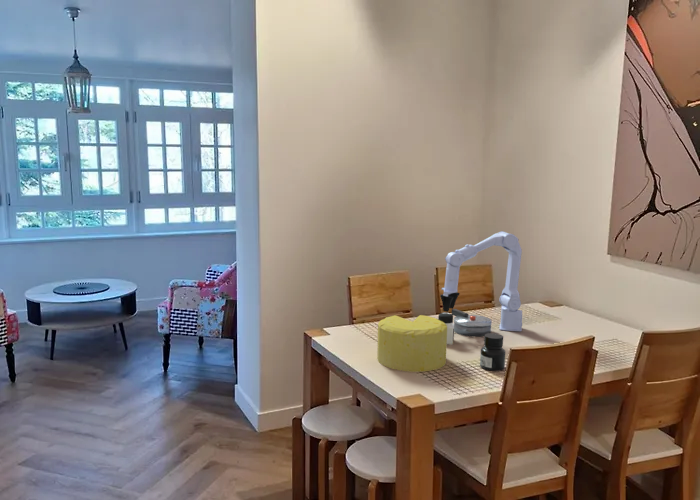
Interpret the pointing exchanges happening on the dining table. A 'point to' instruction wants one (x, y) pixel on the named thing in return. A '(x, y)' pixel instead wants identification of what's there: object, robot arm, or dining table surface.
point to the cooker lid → (470, 319)
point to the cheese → (412, 343)
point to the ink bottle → (492, 352)
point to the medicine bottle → (448, 326)
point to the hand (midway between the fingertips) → (448, 309)
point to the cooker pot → (471, 330)
